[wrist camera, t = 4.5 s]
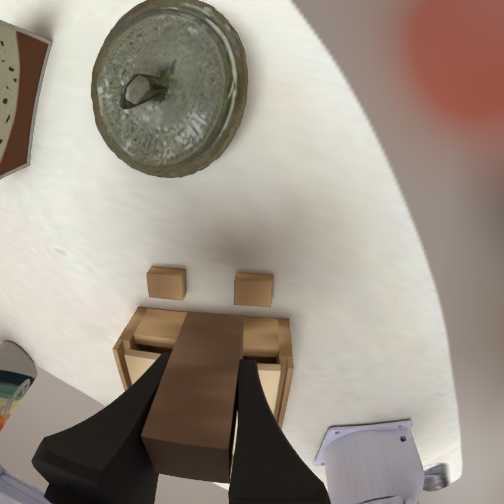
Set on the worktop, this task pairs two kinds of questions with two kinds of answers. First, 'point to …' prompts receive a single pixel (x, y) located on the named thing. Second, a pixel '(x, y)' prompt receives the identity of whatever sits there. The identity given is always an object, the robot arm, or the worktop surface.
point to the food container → (19, 93)
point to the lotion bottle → (13, 378)
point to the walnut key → (198, 400)
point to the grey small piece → (170, 87)
